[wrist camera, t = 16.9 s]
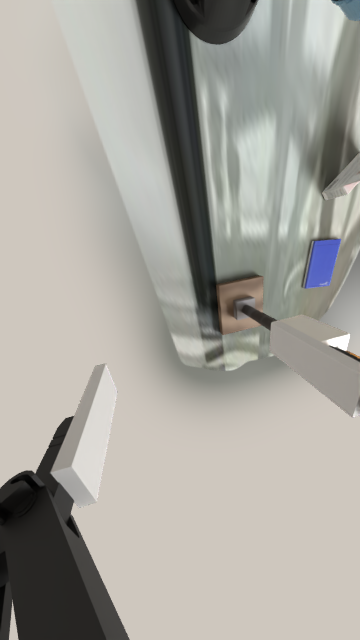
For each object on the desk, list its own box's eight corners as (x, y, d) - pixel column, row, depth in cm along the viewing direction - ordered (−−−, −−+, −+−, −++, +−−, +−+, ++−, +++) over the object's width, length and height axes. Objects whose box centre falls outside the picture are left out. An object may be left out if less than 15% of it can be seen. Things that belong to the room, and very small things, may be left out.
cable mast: (216, 284, 45) (404, 375, 13) (258, 275, 47) (530, 336, 14) (220, 331, 51) (357, 481, 18) (258, 322, 52) (451, 446, 19)
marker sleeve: (272, 321, 31) (311, 344, 24) (302, 314, 32) (350, 333, 24) (270, 350, 33) (306, 378, 26) (299, 342, 34) (341, 368, 27)
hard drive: (330, 285, 51) (342, 238, 46) (305, 288, 50) (315, 241, 45) (325, 284, 52) (336, 239, 48) (301, 287, 51) (310, 241, 46)
